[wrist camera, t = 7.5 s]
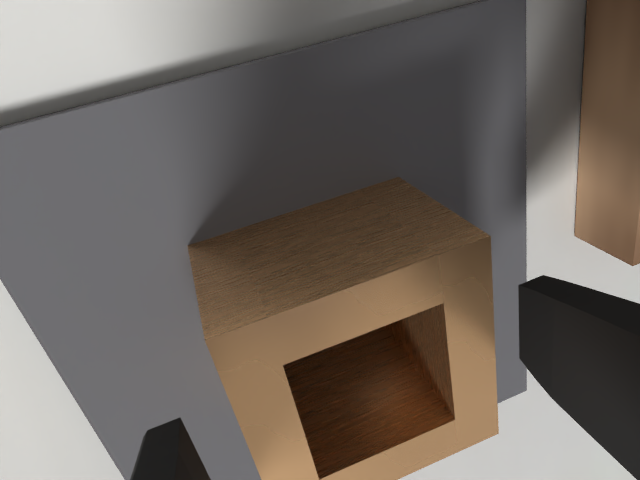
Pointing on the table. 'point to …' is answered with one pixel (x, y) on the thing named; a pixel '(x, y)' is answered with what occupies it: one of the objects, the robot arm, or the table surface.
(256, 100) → the mat
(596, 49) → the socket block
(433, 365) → the collar
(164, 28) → the table surface
